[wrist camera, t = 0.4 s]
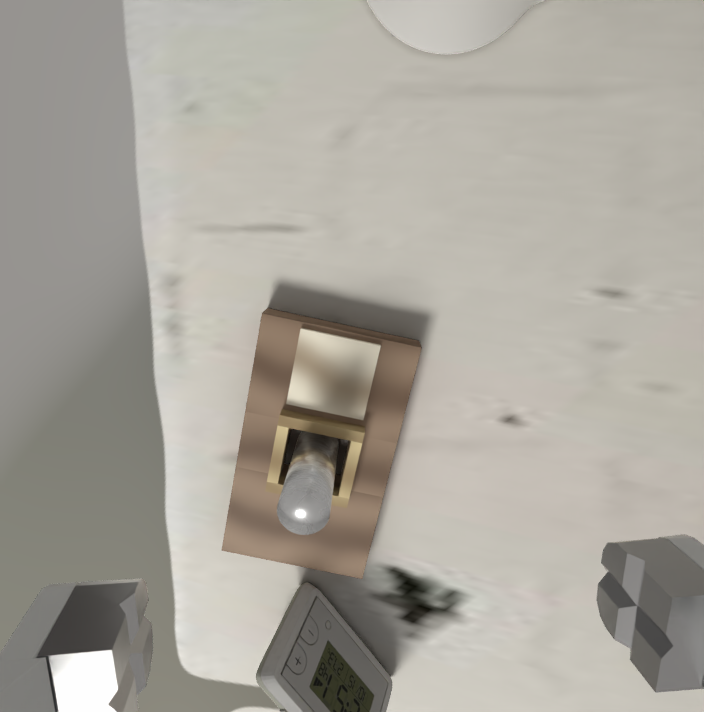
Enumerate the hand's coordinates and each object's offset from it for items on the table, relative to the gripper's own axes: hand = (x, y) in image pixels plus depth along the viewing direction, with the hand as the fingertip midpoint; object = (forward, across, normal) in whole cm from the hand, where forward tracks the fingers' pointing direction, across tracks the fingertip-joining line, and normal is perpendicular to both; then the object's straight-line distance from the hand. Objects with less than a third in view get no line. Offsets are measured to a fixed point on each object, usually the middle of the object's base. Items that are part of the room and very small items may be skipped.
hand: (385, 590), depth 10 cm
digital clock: (+40, -2, +38) cm, 56 cm away
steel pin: (+40, -1, +15) cm, 43 cm away
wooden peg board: (+40, -1, +15) cm, 43 cm away
